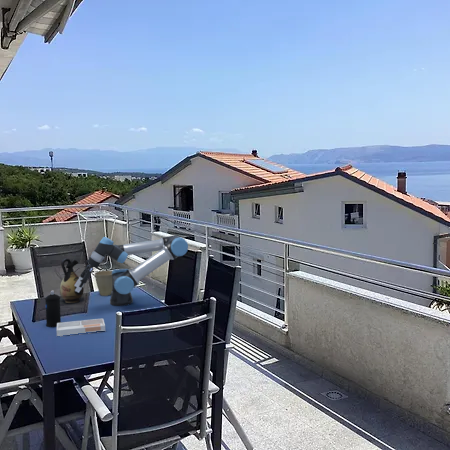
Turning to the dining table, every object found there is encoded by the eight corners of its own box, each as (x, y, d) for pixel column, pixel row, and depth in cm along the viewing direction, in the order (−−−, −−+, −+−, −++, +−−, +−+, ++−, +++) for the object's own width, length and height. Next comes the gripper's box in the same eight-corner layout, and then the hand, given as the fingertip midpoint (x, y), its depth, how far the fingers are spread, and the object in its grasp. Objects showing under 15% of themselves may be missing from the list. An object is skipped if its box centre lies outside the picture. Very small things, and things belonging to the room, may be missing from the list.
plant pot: (97, 298, 316) (97, 275, 314) (93, 293, 329) (92, 271, 327) (119, 295, 323) (118, 273, 321) (113, 291, 336) (113, 269, 334)
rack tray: (103, 324, 262) (103, 318, 261) (105, 331, 249) (105, 325, 249) (57, 329, 253) (57, 322, 253) (56, 337, 241) (56, 330, 241)
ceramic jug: (74, 297, 319) (73, 255, 316) (88, 300, 310) (87, 257, 307) (53, 302, 305) (51, 258, 302) (67, 306, 296) (65, 261, 293)
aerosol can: (64, 323, 263) (63, 289, 261) (54, 328, 255) (53, 293, 253) (52, 322, 265) (51, 288, 263) (42, 326, 258) (41, 292, 256)
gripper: (89, 253, 294) (70, 281, 291) (91, 260, 270) (71, 290, 268) (99, 259, 296) (81, 287, 294) (102, 266, 273) (82, 296, 271)
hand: (76, 289), depth 281 cm, fingers open, 13 cm apart
